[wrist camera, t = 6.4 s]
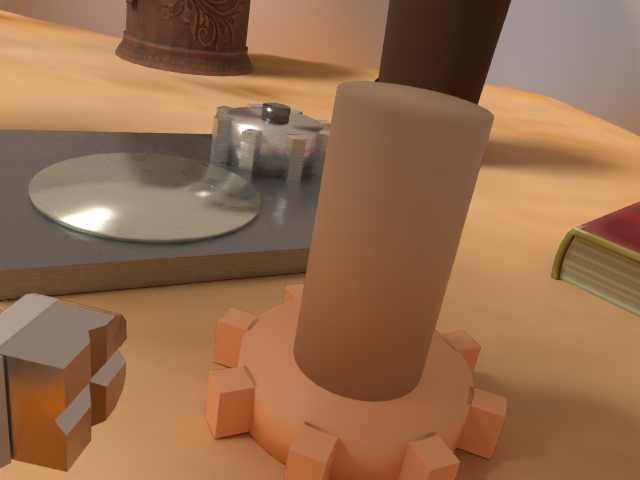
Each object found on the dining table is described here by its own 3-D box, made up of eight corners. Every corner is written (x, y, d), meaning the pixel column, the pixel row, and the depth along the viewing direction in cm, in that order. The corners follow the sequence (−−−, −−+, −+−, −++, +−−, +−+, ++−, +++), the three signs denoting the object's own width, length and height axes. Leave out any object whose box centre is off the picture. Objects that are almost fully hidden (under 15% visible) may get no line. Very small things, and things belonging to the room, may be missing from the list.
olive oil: (489, 160, 61) (571, -127, 51) (422, 171, 54) (501, -159, 44) (408, 128, 68) (466, -131, 57) (340, 135, 61) (392, -159, 50)
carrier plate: (-23, 302, 26) (-34, 182, 24) (-22, 150, 42) (-28, 69, 40) (427, 261, 37) (449, 176, 35) (295, 152, 53) (304, 89, 51)
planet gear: (268, 564, 17) (340, 161, 12) (171, 336, 26) (189, 50, 21) (555, 471, 23) (688, 162, 18) (392, 307, 31) (449, 72, 26)
